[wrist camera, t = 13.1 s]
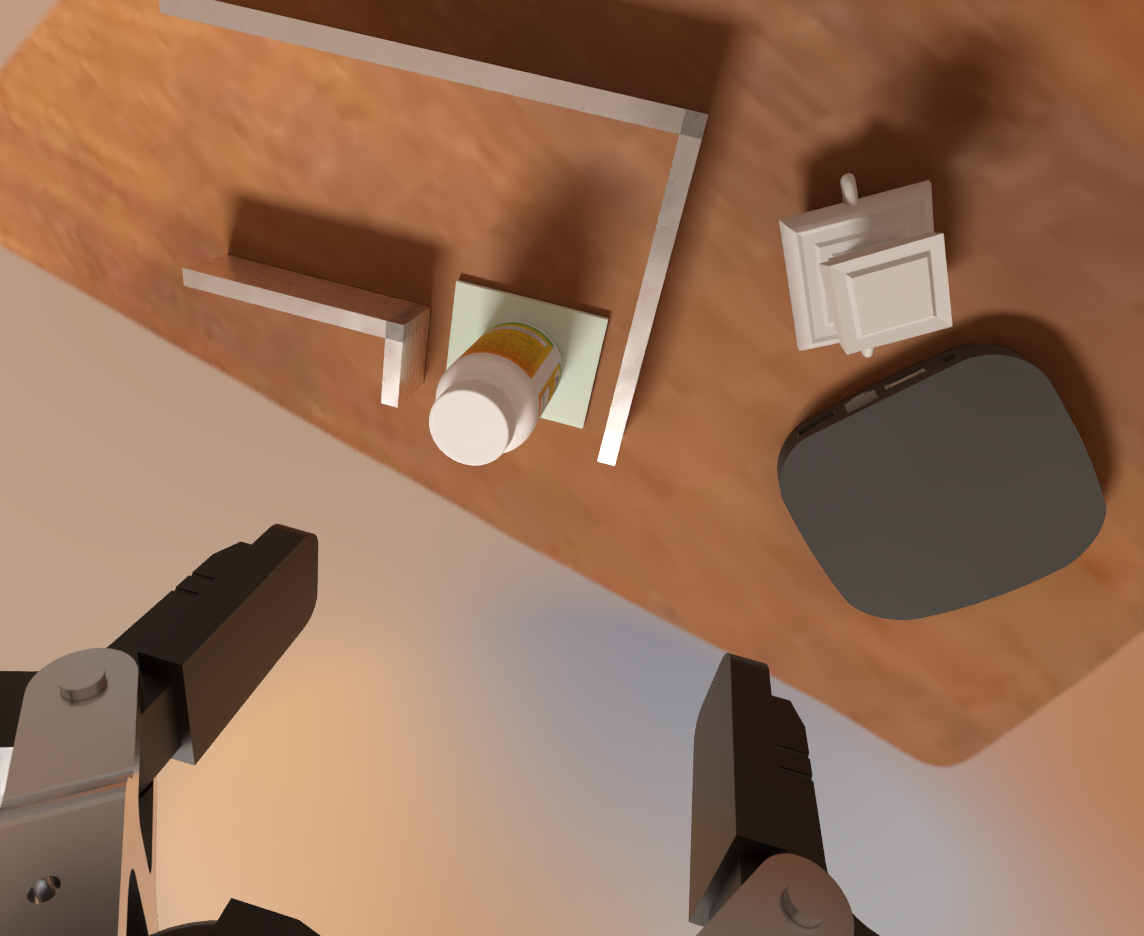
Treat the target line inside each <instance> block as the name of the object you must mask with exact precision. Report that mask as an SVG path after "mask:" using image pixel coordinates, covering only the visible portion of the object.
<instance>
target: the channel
mask: <svg viewBox="0 0 1144 936" xmlns="http://www.w3.org/2000/svg"><path fill="white" fill-rule="evenodd" d="M159 7H160V13H163V14H167V15H171V16H176V17H180V18H184V19H189V20H193V21H197V22H201V23H206V24H210V25H214V26H219V27H223V28H227V29H231V30H236V31H240V32H244V33H249V34H253V35H257V36H261V37H266V38H270V39H274V40H278V41H283V42H287V43H291V44H296V45H300V46H304V47H308V48H313V49H317V50H321V51H326V52H330V53H334V54H338V55H343V56H347V57H351V58H356V59H360V60H364V61H368V62H373V63H377V64H381V65H386V66H390V67H394V68H398V69H403V70H407V71H411V72H415V73H420V74H424V75H428V76H433V77H437V78H441V79H445V80H450V81H454V82H458V83H463V84H467V85H471V86H475V87H480V88H484V89H488V90H493V91H497V92H501V93H505V94H510V95H514V96H518V97H523V98H527V99H531V100H535V101H540V102H544V103H548V104H553V105H557V106H561V107H565V108H570V109H574V110H578V111H582V112H587V113H591V114H595V115H600V116H604V117H608V118H612V119H617V120H621V121H625V122H630V123H634V124H638V125H642V126H647V127H651V128H655V129H660V130H664V131H668V132H672V133H677V134H680V135H679V139H678V143H677V147H676V151H675V155H674V159H673V163H672V167H671V171H670V175H669V178H668V182H667V186H666V190H665V194H664V198H663V202H662V206H661V210H660V214H659V218H658V222H657V226H656V230H655V234H654V238H653V242H652V246H651V250H650V254H649V258H648V262H647V266H646V270H645V274H644V278H643V282H642V286H641V290H640V294H639V298H638V302H637V306H636V310H635V314H634V318H633V322H632V326H631V330H630V334H629V338H628V342H627V346H626V350H625V354H624V358H623V362H622V366H621V370H620V374H619V378H618V381H617V385H616V389H615V393H614V397H613V401H612V405H611V409H610V413H609V417H608V421H607V425H606V429H605V433H604V437H603V441H602V445H601V449H600V453H599V457H598V461H599V462H602V463H606V464H610V465H613V466H615V462H616V459H617V455H618V451H619V448H620V444H621V441H622V437H623V433H624V430H625V426H626V422H627V418H628V415H629V411H630V407H631V403H632V400H633V396H634V392H635V388H636V385H637V381H638V377H639V373H640V370H641V366H642V362H643V358H644V355H645V351H646V347H647V343H648V340H649V336H650V332H651V329H652V325H653V321H654V317H655V314H656V310H657V306H658V302H659V299H660V295H661V291H662V287H663V284H664V280H665V276H666V272H667V269H668V265H669V261H670V257H671V254H672V250H673V246H674V242H675V239H676V235H677V231H678V227H679V224H680V220H681V216H682V212H683V209H684V205H685V201H686V197H687V194H688V190H689V186H690V182H691V179H692V175H693V171H694V167H695V164H696V160H697V156H698V153H699V149H700V145H701V141H702V138H703V134H704V130H705V126H706V123H707V119H708V115H709V114H705V113H701V112H696V111H692V110H688V109H683V108H679V107H675V106H670V105H666V104H662V103H657V102H653V101H649V100H644V99H640V98H636V97H631V96H627V95H623V94H618V93H614V92H610V91H605V90H601V89H597V88H592V87H588V86H584V85H579V84H575V83H571V82H566V81H562V80H558V79H553V78H549V77H545V76H540V75H536V74H532V73H527V72H523V71H519V70H514V69H510V68H506V67H501V66H497V65H493V64H488V63H484V62H480V61H475V60H471V59H467V58H462V57H458V56H454V55H449V54H445V53H441V52H436V51H432V50H428V49H423V48H419V47H415V46H410V45H406V44H402V43H397V42H393V41H389V40H384V39H380V38H376V37H371V36H367V35H363V34H358V33H354V32H350V31H346V30H341V29H337V28H333V27H328V26H324V25H320V24H315V23H311V22H307V21H302V20H298V19H294V18H289V17H285V16H281V15H276V14H272V13H268V12H263V11H259V10H255V9H250V8H246V7H242V6H237V5H233V4H229V3H224V2H220V1H216V0H159ZM182 269H183V280H184V286H188V287H192V288H195V289H199V290H203V291H207V292H211V293H214V294H218V295H222V296H226V297H230V298H234V299H237V300H241V301H245V302H249V303H253V304H257V305H260V306H264V307H268V308H272V309H276V310H279V311H283V312H287V313H291V314H295V315H299V316H302V317H306V318H310V319H314V320H318V321H322V322H325V323H329V324H333V325H337V326H341V327H345V328H348V329H352V330H356V331H360V332H364V333H367V334H371V335H375V336H379V337H383V338H385V353H384V368H383V384H382V400H381V403H382V404H386V405H390V406H393V407H397V408H398V407H399V406H400V405H401V404H402V403H403V402H404V401H405V400H406V399H407V398H408V397H410V396H411V395H412V394H413V393H414V392H415V391H416V390H417V389H418V388H419V387H420V386H421V385H422V384H423V383H424V372H425V362H426V352H427V341H428V331H429V320H430V310H431V307H429V306H425V305H421V304H417V303H413V302H409V301H406V300H402V299H398V298H394V297H390V296H386V295H382V294H378V293H374V292H371V291H367V290H363V289H359V288H355V287H351V286H347V285H343V284H339V283H336V282H332V281H328V280H324V279H320V278H316V277H312V276H308V275H304V274H300V273H297V272H293V271H289V270H285V269H281V268H277V267H273V266H269V265H265V264H262V263H258V262H254V261H250V260H246V259H242V258H238V257H234V256H230V255H225V256H222V257H218V258H215V259H211V260H208V261H204V262H201V263H198V264H194V265H191V266H187V267H184V268H182Z"/></svg>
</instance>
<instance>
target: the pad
mask: <svg viewBox="0 0 1144 936" xmlns="http://www.w3.org/2000/svg"><path fill="white" fill-rule="evenodd" d="M608 320H609V318H607V317H603V316H599V315H595V314H591V313H587V312H583V311H579V310H575V309H571V308H567V307H563V306H560V305H556V304H552V303H548V302H544V301H540V300H536V299H532V298H528V297H524V296H520V295H516V294H512V293H508V292H504V291H500V290H496V289H492V288H489V287H485V286H481V285H477V284H473V283H469V282H465V281H461V280H458V281H456V289H455V298H454V306H453V315H452V324H451V333H450V342H449V350H448V359H447V368H446V370H447V369H448V368H449V367H450V366H451V365H452V364H453V363H454V362H455V361H456V360H457V359H458V358H459V357H460V356H461V355H462V354H463V353H464V352H465V351H466V350H467V349H468V348H469V347H470V346H472V345H473V344H474V343H475V342H476V341H477V340H478V339H479V338H480V337H481V336H482V335H483V334H484V333H485V332H486V331H488V330H489V329H490V328H492V327H493V326H495V325H497V324H500V323H503V322H508V321H522V322H526V323H530V324H532V325H534V326H536V327H538V328H540V329H541V330H542V331H544V332H545V333H546V334H547V335H548V336H549V337H550V338H551V339H552V340H553V342H554V343H555V345H556V346H557V348H558V351H559V353H560V356H561V361H562V375H561V380H560V383H559V385H558V388H557V389H556V391H555V393H554V395H553V397H552V398H551V400H550V402H549V404H548V405H547V407H546V409H545V410H544V412H543V414H542V416H541V418H544V419H548V420H552V421H556V422H559V423H563V424H567V425H571V426H575V427H578V428H582V429H583V427H584V423H585V419H586V414H587V410H588V406H589V401H590V397H591V393H592V388H593V384H594V380H595V376H596V371H597V367H598V363H599V358H600V354H601V350H602V345H603V341H604V337H605V333H606V328H607V324H608Z"/></svg>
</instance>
